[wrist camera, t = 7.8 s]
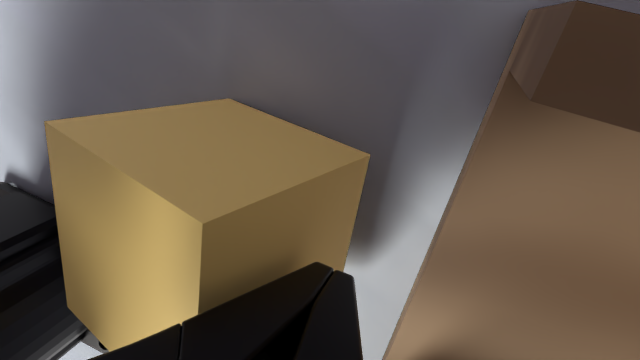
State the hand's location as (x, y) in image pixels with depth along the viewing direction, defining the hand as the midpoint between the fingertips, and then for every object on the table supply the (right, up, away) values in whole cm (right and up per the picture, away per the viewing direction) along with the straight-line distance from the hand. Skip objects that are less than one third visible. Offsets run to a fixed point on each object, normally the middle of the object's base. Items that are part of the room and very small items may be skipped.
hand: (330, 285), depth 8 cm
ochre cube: (-1, +2, +4) cm, 4 cm away
